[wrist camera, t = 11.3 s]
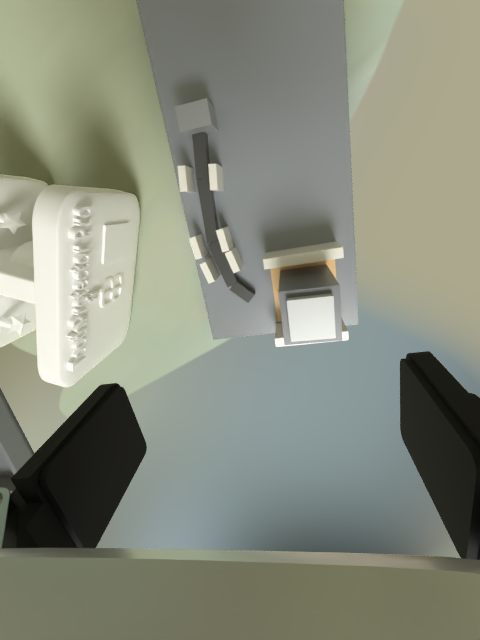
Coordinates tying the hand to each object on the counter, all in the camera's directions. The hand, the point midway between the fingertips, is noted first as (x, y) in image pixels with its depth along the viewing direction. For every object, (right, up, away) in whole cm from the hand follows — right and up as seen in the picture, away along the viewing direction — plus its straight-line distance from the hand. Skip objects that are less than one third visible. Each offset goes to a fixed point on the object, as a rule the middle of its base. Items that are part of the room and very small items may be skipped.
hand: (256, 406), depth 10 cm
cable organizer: (-15, +9, +21) cm, 27 cm away
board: (+1, +15, +16) cm, 21 cm away
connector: (+5, +6, +17) cm, 19 cm away
